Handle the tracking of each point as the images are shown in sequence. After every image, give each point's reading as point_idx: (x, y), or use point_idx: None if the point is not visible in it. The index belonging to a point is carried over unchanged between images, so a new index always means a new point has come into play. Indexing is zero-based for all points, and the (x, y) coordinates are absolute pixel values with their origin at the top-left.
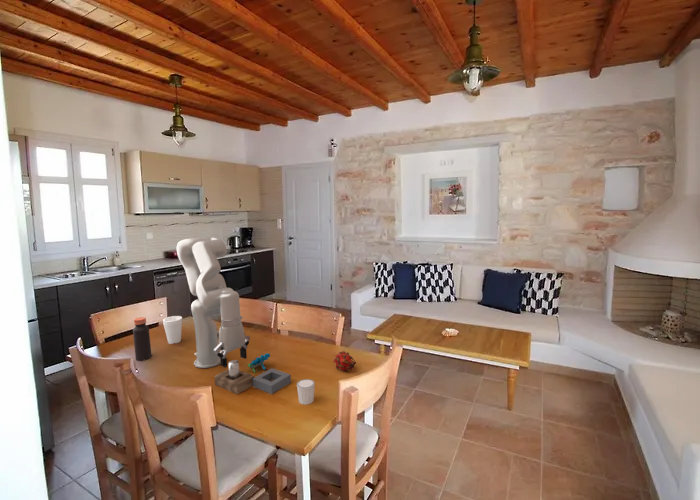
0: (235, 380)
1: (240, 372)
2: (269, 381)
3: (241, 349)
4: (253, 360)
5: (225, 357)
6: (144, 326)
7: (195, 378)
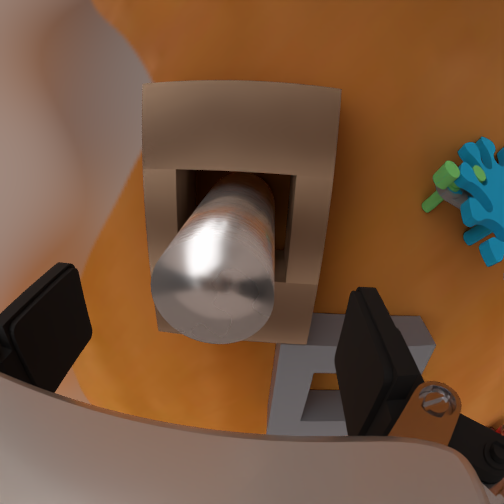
0: None
1: (301, 230)
2: (296, 416)
3: (370, 405)
4: (477, 221)
5: (38, 386)
6: None
7: None
